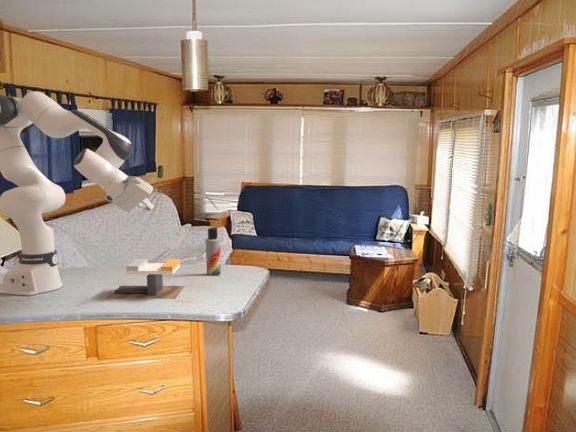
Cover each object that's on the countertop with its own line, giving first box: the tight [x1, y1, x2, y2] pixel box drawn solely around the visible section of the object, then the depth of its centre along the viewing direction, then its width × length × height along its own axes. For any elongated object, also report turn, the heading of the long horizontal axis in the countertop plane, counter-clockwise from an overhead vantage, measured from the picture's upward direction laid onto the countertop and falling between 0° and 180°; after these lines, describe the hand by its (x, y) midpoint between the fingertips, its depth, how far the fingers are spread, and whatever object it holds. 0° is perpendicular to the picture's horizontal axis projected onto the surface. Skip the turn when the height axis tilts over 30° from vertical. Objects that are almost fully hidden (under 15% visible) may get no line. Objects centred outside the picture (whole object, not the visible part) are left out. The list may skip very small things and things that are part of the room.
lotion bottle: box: [205, 226, 222, 277], centre depth 199 cm, size 6×6×20 cm
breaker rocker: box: [126, 258, 181, 275], centre depth 174 cm, size 16×10×3 cm, turn 87°
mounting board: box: [106, 284, 186, 300], centre depth 175 cm, size 24×14×2 cm, turn 87°
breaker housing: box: [146, 274, 164, 296], centre depth 175 cm, size 3×8×7 cm, turn 178°
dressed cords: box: [114, 285, 148, 294], centre depth 175 cm, size 12×5×1 cm, turn 87°
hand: (151, 208), depth 175 cm, fingers closed
